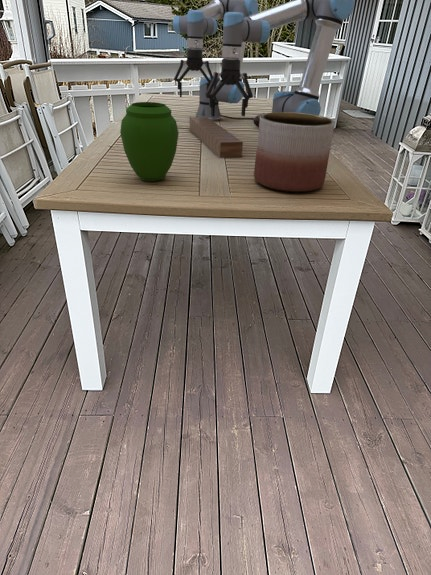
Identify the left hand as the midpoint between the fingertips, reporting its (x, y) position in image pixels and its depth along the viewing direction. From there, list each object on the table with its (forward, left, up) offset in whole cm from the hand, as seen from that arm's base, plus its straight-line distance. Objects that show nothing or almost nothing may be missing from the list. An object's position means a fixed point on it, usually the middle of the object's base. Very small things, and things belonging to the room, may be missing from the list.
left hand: (194, 97), depth 208 cm
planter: (-5, +89, -17) cm, 91 cm away
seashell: (-42, -3, -17) cm, 45 cm away
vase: (+42, +72, -17) cm, 85 cm away
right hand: (+1, +45, -1) cm, 45 cm away
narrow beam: (-2, +24, -17) cm, 29 cm away
